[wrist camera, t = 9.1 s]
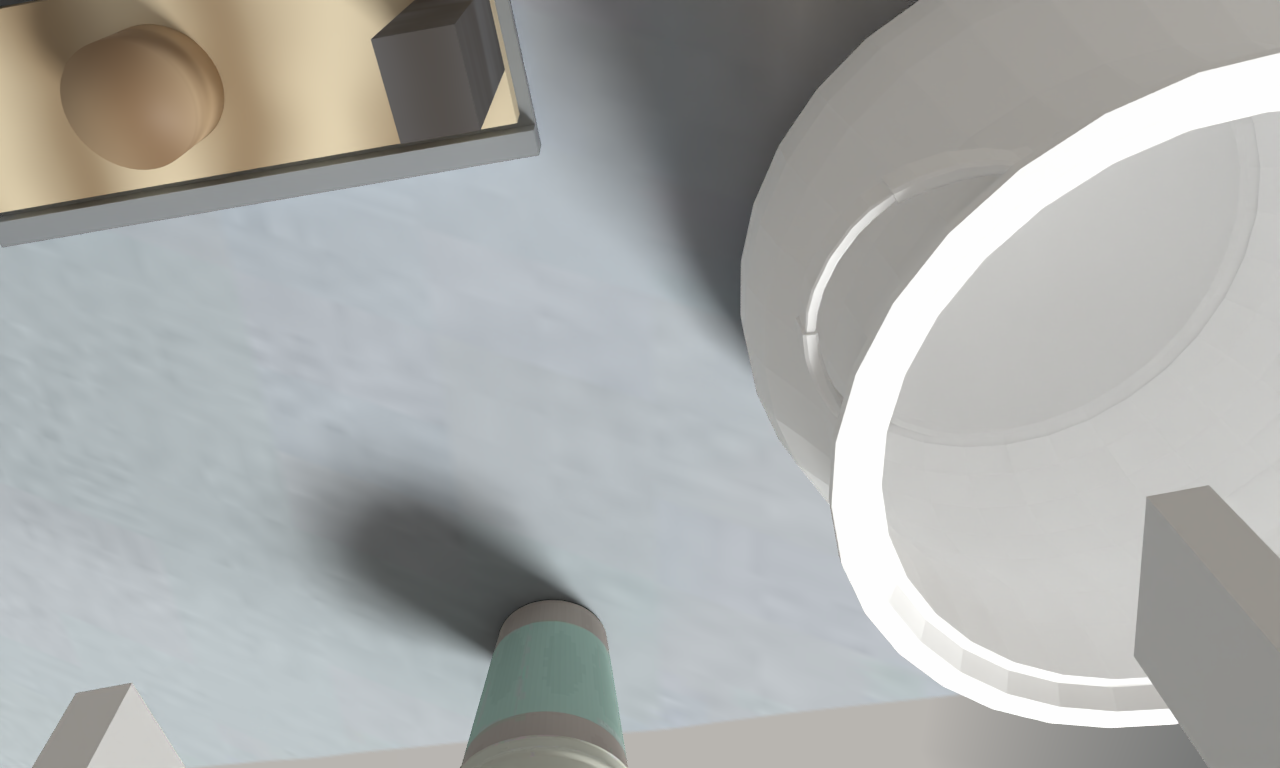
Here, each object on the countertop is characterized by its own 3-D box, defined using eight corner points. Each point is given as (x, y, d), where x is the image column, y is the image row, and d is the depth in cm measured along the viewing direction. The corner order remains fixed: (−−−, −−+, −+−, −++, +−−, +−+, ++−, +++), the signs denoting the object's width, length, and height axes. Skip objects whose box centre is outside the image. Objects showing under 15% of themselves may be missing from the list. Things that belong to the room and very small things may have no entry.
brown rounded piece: (130, 155, 37) (95, 180, 35) (78, 36, 35) (36, 52, 32) (242, 134, 37) (214, 157, 34) (196, 13, 35) (163, 28, 32)
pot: (1435, 107, 40) (1915, 264, 26) (1067, 538, 51) (1258, 825, 36) (918, -207, 34) (1158, -238, 19) (621, 357, 45) (631, 614, 30)
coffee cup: (465, 687, 54) (433, 891, 44) (483, 569, 50) (452, 762, 40) (616, 704, 55) (620, 907, 45) (646, 589, 51) (658, 783, 41)
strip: (7, 203, 39) (-160, 306, 31) (-84, 22, 36) (-301, 81, 27) (519, 114, 38) (496, 195, 30) (476, -81, 35) (436, -53, 26)
